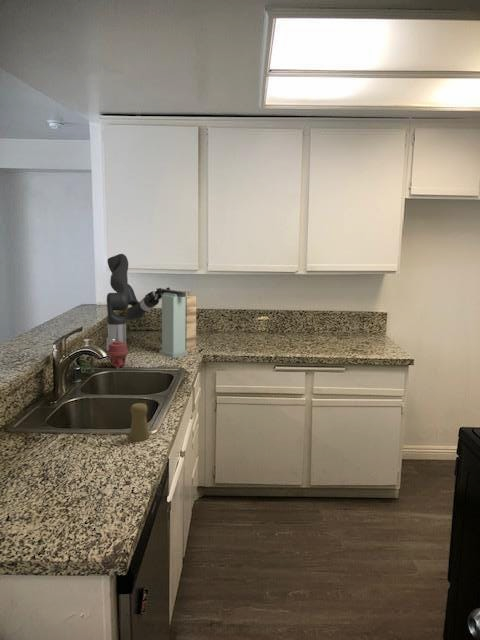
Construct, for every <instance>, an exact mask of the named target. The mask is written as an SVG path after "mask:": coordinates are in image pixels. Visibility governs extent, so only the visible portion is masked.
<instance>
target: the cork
mask: <svg viewBox="0 0 480 640" xmlns="http://www.w3.org/2000/svg"><path fill="white" fill-rule="evenodd" d="M147 413H148V406H147V404H146V403H141V402H138V403H137V402H136V403H133V404H132V405H131V407H130V414H131V423H130V424H131V425H130V432H129V440H130V441H132V442H134V443H135V442H136V443H137V442H138V443H140V442H145V441H148V440H149V439H150V434H149V426H148V421H147Z"/></svg>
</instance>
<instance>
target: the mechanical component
mask: <svg viewBox="0 0 480 640" xmlns="http://www.w3.org/2000/svg"><path fill="white" fill-rule="evenodd" d="M127 346H128V345H127V342H126V343H123V342H121V341H115V342H113V343H110V344H109V350H108V351H107V350H106V355H107V354H108V355H110V356H109V357H110V358H109V359H110V365H111V366H112V367H113V366H114V368H115V369H116V368H119V369H120V367H121V368H124V367H123V366H125V367H126V361H127V360H126V356H127V355H129V349H128V347H127ZM125 355H126V356H125Z"/></svg>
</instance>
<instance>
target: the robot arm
mask: <svg viewBox="0 0 480 640" xmlns="http://www.w3.org/2000/svg"><path fill="white" fill-rule="evenodd" d="M107 265H108V268H109V270H110V272H111V275H110V279H109V281H110V282H109V283H110V287H111V289H112V290H114V292H108V293H107V295H106V309H107V311H106V312H107V337H106V352H107V351H108V350H109V344H110V343H113V342H115V341H121V342H123V343H126V344H127V319H128V320H130V321H135V320H139V319H142V318H144V316H145V314H147V312H149V311H150V310H152V309H154V307H156V306H157V305H158V304H159V303H160V301H161V300H162V295H163V294H160V293H161V292H162V289H163V288H162V287H160V288H159V287H158V288H159V289H158V290H157V291H156V290H154V291H153V290H152V291H151V292H149V293H147V294H145V296H144V297H143V298H142V299H141V300H140V301H139V300H138V299H137V297H136V294H135V291H134V289H133V287H132V286H131V285H130V284H129V283H128V280H129V279H128V271H129V261H128V258H127V255H125V253H119V254H116V255H113V256H111V257H109V258H107ZM161 288H162V289H161ZM166 289H169V290H171V288H170V287H166ZM129 306H130V307H129ZM128 307H129V308H128ZM115 311H126V312H125V316H126V317H124V316H122V315H119V314H117V313H115ZM126 318H127V319H126ZM108 357H110V355H108ZM125 357H127V355H125Z"/></svg>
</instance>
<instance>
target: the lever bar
mask: <svg viewBox="0 0 480 640" xmlns="http://www.w3.org/2000/svg"><path fill="white" fill-rule="evenodd" d="M160 288H161V289H162V292H161V293H160V294H163V293H170V294H176V295H177V296H178V297H186V295H187V292H186V291H181V290H174V289H170V290H169V289H167V288H162V287H160ZM158 289H159V287H158V288H156V290H155V291H157V290H158Z"/></svg>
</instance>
